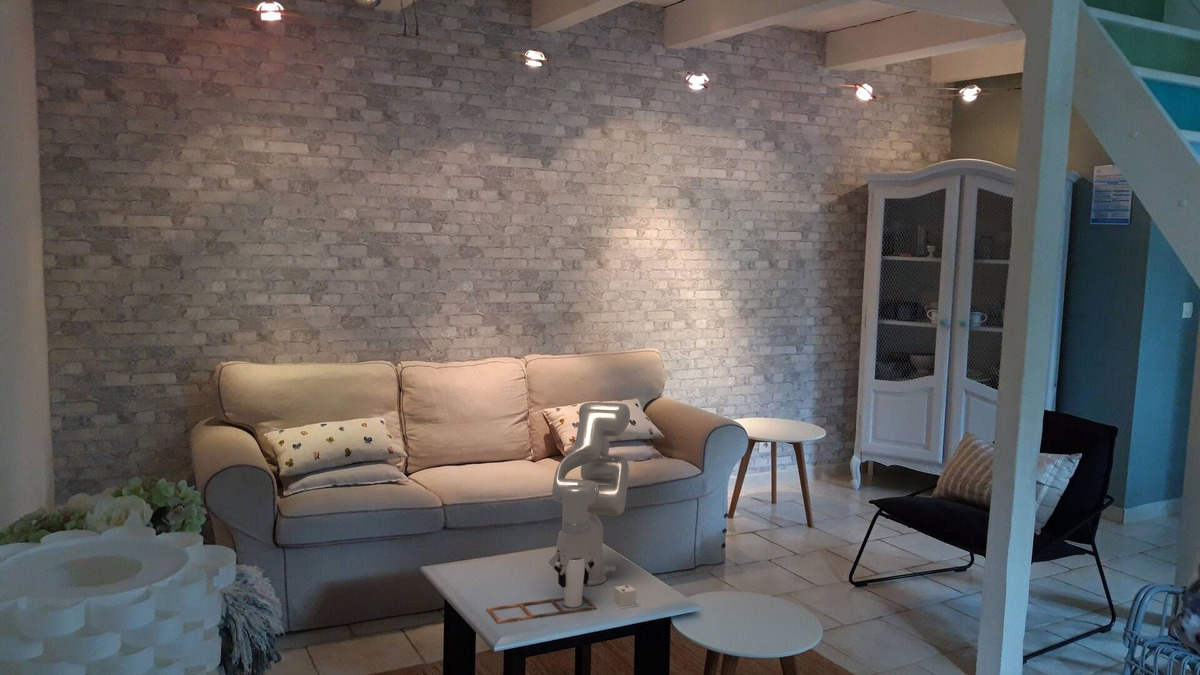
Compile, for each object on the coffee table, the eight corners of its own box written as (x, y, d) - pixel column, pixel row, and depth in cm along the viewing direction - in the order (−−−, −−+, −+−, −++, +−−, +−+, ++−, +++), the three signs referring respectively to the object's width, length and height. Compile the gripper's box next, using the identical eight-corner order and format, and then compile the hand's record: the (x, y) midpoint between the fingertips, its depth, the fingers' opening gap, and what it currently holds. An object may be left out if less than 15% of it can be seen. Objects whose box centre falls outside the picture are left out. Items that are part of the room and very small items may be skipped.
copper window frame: (582, 596, 282) (582, 594, 282) (596, 609, 272) (596, 607, 272) (486, 610, 269) (486, 608, 269) (497, 623, 259) (497, 621, 259)
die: (628, 600, 280) (628, 584, 279) (635, 606, 275) (636, 589, 275) (613, 602, 278) (614, 586, 277) (620, 608, 273) (621, 592, 273)
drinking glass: (561, 601, 278) (562, 553, 277) (583, 600, 278) (584, 553, 277) (562, 609, 271) (563, 560, 270) (584, 609, 272) (585, 560, 271)
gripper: (595, 520, 280) (594, 577, 281) (543, 526, 273) (542, 584, 274) (606, 527, 273) (604, 585, 274) (552, 533, 266) (551, 592, 267)
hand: (573, 584), depth 274 cm, fingers closed on drinking glass, 6 cm apart
